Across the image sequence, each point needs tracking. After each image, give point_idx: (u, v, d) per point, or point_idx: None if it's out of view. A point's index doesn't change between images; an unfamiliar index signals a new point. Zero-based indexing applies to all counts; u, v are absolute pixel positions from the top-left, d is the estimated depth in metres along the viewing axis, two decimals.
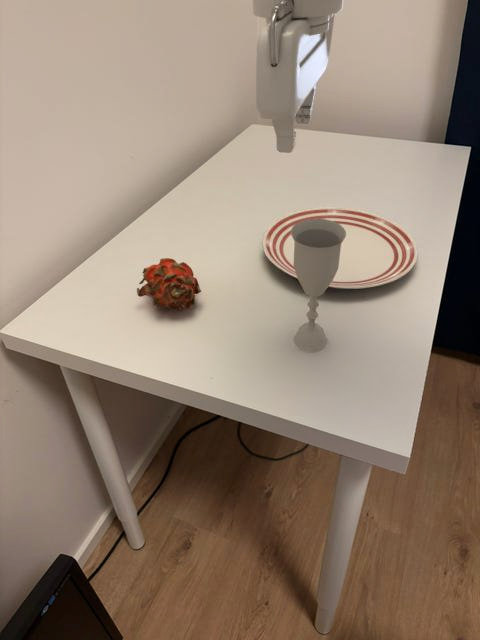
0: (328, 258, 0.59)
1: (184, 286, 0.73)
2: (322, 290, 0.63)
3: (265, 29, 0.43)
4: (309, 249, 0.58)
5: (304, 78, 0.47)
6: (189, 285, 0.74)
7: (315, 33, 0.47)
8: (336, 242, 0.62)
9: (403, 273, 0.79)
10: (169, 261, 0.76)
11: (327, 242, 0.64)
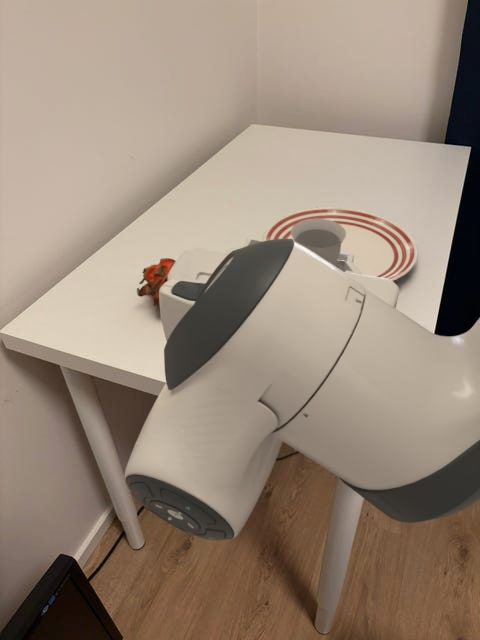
0: (328, 258, 0.59)
1: None
2: None
3: None
4: (309, 249, 0.58)
5: None
6: None
7: None
8: (336, 242, 0.62)
9: (403, 273, 0.79)
10: (169, 261, 0.76)
11: (327, 242, 0.64)
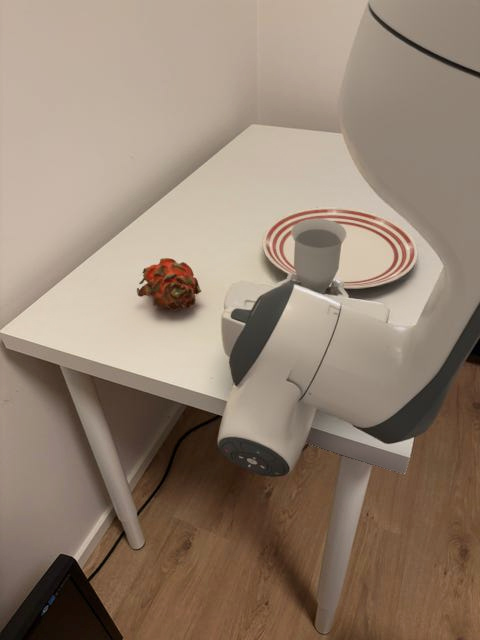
0: (328, 258, 0.59)
1: (184, 286, 0.73)
2: (322, 290, 0.63)
3: None
4: (310, 249, 0.58)
5: None
6: (189, 285, 0.74)
7: None
8: (336, 242, 0.62)
9: (403, 273, 0.79)
10: (169, 261, 0.76)
11: (328, 242, 0.64)
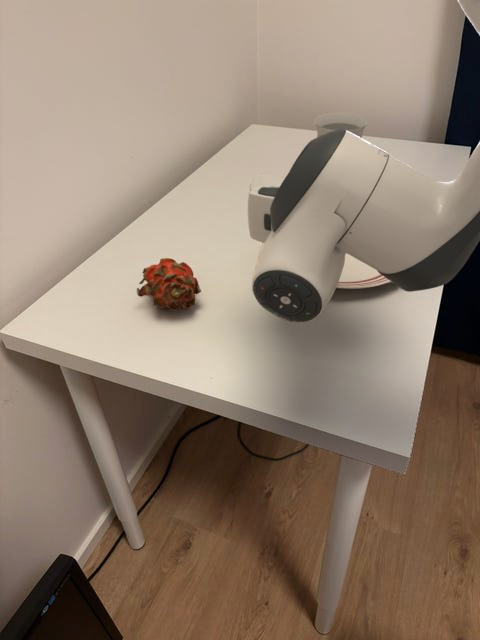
0: None
1: (184, 286, 0.73)
2: None
3: None
4: None
5: None
6: (189, 285, 0.74)
7: None
8: None
9: None
10: (169, 261, 0.76)
11: None
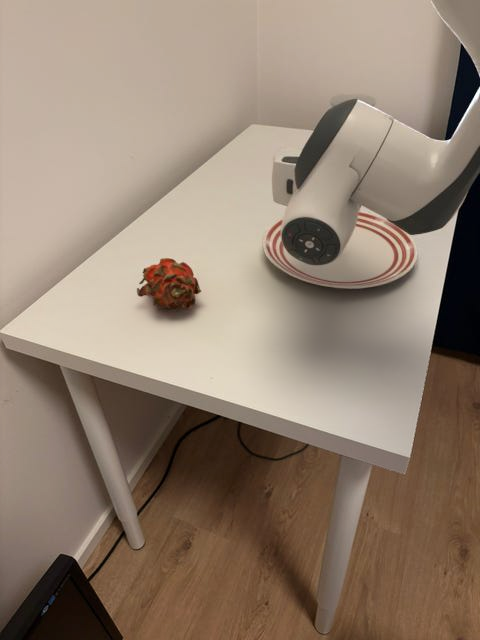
0: None
1: (184, 286, 0.73)
2: None
3: None
4: None
5: None
6: (189, 285, 0.74)
7: None
8: None
9: (403, 273, 0.79)
10: (169, 261, 0.76)
11: None
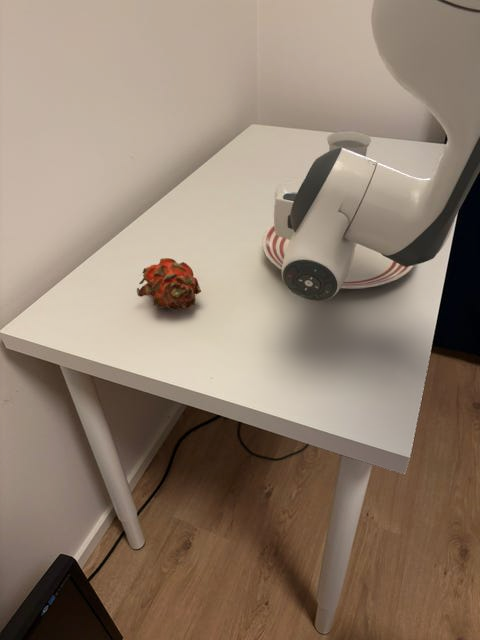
0: None
1: (184, 286, 0.73)
2: None
3: None
4: None
5: None
6: (189, 285, 0.74)
7: None
8: None
9: (403, 273, 0.79)
10: (169, 261, 0.76)
11: None
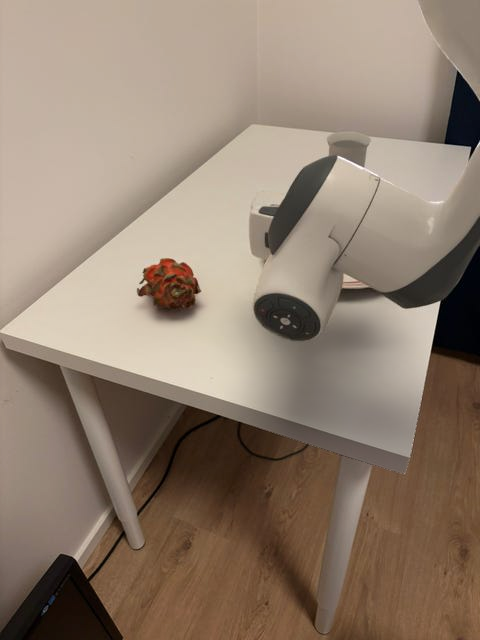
0: (357, 158, 0.74)
1: (184, 286, 0.73)
2: None
3: None
4: (342, 150, 0.73)
5: None
6: (189, 285, 0.74)
7: None
8: None
9: None
10: (169, 261, 0.76)
11: None
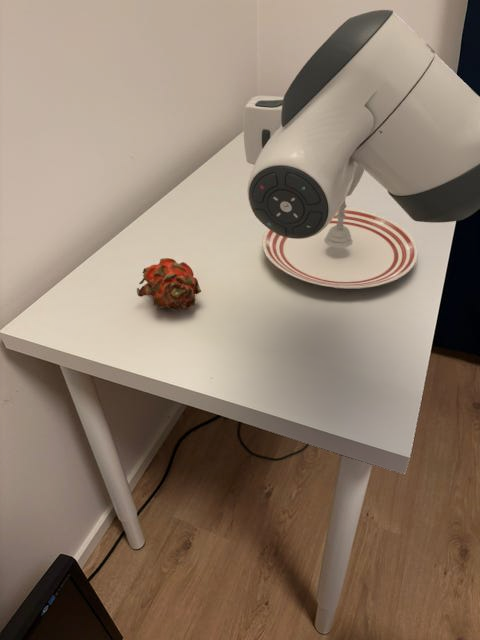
0: None
1: (184, 286, 0.73)
2: (350, 190, 0.79)
3: None
4: None
5: None
6: (189, 285, 0.74)
7: None
8: None
9: (403, 273, 0.79)
10: (169, 261, 0.76)
11: None
